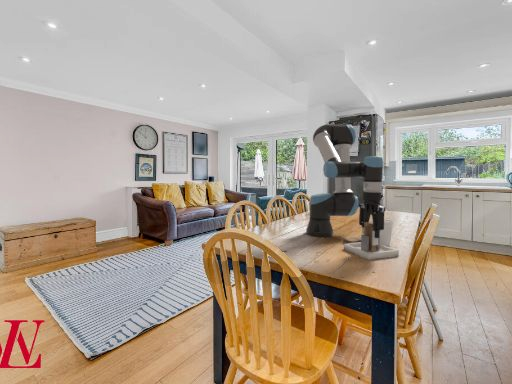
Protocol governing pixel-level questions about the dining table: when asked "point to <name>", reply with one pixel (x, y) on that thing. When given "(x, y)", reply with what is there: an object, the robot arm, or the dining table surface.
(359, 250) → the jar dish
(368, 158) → the robot arm
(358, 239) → the wick
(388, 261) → the dining table surface
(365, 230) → the brown rectangular block
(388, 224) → the candle holder
